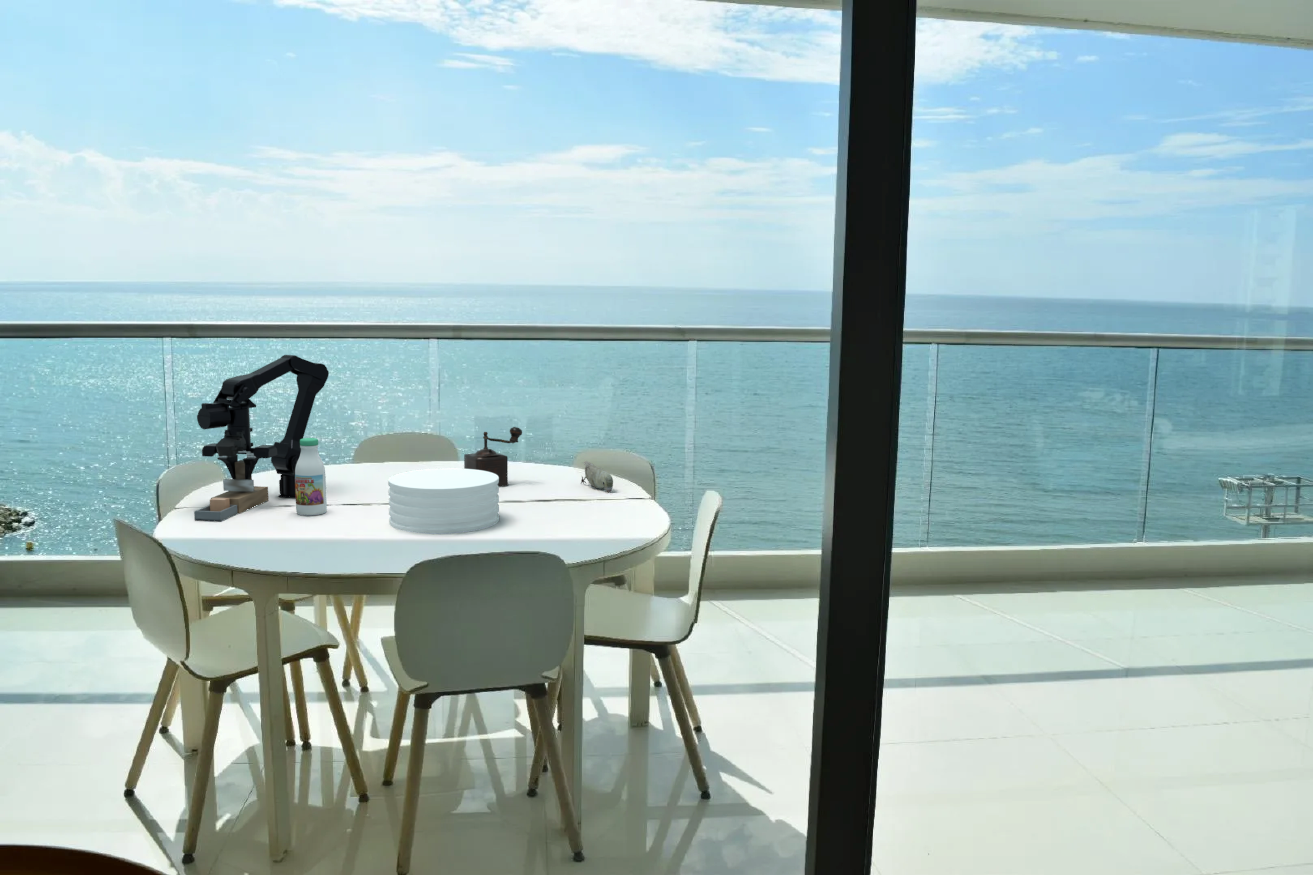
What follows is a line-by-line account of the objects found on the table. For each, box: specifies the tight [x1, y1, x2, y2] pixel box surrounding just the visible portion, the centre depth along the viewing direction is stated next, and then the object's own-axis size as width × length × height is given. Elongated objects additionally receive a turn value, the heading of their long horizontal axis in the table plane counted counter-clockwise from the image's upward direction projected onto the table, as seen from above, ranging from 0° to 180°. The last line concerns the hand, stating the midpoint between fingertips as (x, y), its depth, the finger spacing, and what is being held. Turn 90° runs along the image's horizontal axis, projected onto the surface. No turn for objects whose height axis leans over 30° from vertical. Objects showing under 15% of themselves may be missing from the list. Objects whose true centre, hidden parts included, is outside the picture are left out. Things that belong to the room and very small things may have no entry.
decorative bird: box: [580, 460, 614, 493], centre depth 303 cm, size 5×16×8 cm, turn 31°
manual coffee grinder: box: [463, 426, 523, 488], centre depth 306 cm, size 16×11×18 cm
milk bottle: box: [295, 437, 328, 516], centre depth 263 cm, size 8×8×20 cm
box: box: [193, 504, 239, 523], centre depth 258 cm, size 7×8×2 cm
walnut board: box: [210, 485, 270, 515], centre depth 271 cm, size 8×16×4 cm, turn 175°
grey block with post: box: [222, 459, 255, 492], centre depth 271 cm, size 8×5×8 cm, turn 85°
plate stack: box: [387, 467, 500, 535], centre depth 258 cm, size 28×28×12 cm
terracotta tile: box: [209, 497, 230, 511], centre depth 260 cm, size 4×4×2 cm
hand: (241, 481), depth 271 cm, fingers closed on grey block with post, 3 cm apart
